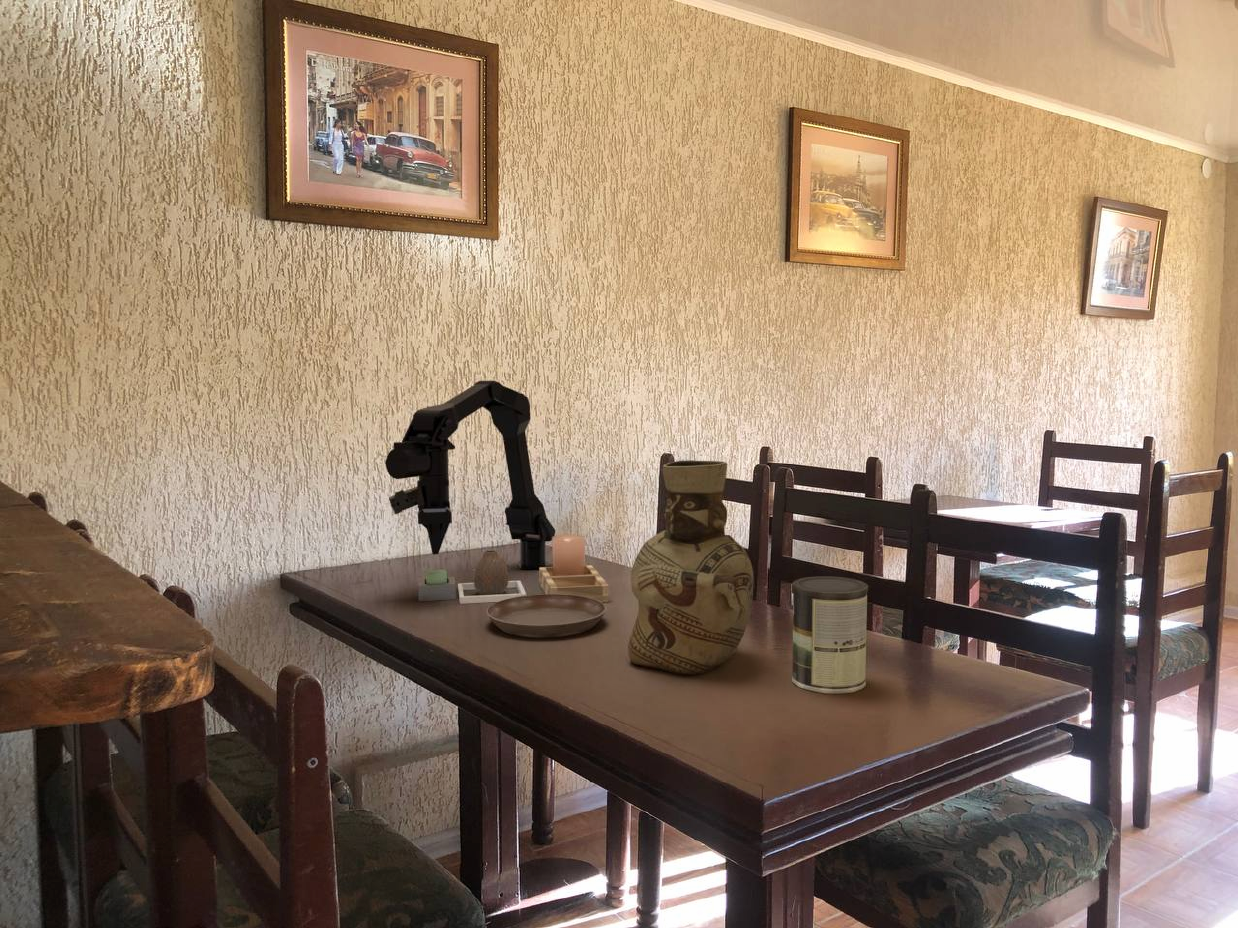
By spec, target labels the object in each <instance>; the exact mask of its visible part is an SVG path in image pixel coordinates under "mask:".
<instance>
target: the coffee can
mask: <svg viewBox="0 0 1238 928" xmlns="http://www.w3.org/2000/svg"><path fill="white" fill-rule="evenodd" d="M792 591H793V592H792V594H793V597H792V601H793V602H792V603H793V605H792V673H791V674H792V676H791V681H792V683H793V684H794V685H795V686H797V687H798V688H800V689H803V690H806V691H809V692H814V693H821V694H833V695H835V694H836V695H837V694H847V693H848V694H850V693H855V692H858V691H860V690H863V688H865V687H866V685H867V683H866V664H867V663H866V662H867V661H866V657H867V656H866V655H867V620H868V619H867V618H868V617H867V612H868V611H867V608H868V592H869V585H868V584H867V583H866V582H864V581H862V580H859V579H855V578H850V577H843V576H842V577H841V576H831V575H830V576H826V575H825V576H823V575H822V576H819V575H818V576H807V577H806V576H805V577H802V578H797V579H795V580H794V581H792Z"/></svg>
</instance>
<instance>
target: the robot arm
mask: <svg viewBox="0 0 1238 928" xmlns="http://www.w3.org/2000/svg"><path fill="white" fill-rule="evenodd" d="M529 399H530V398H528V396H526V395H525V394H524V393H522V392H519V391H517V390H514V389H512V388H510V387H507V386H505V385H503V384H501V383H500V382H499V381H496V380H493V379H491V380H485V379H484V380H482V379H481V380H478V381H476V382H475V383H473V385H472V386H470V387H469V388H467V389H466V390H464V391H462V392H461V393H459V394H457V395H456V396H454V397H452V398H450V399H448V400H447V401H446V402H443V403H441V404H438V405H437V404H436V405H432V406H426V407H424V408H420V409H418V410H416V411H415V412H414V413H413V415H412V419H411V422H410V423H409V426H408V428H407V430H406V431H405V434H404V436H403V438H402V440H401V441H396V442H394V443H393V449H391V450H390V451H389V452H388V454H387V456H386V459H385V468H386V472H387V473H388V474H389V476H390V477H391V478H393V479H395V480H403V479H411V478H416V477H418V480H416V486H414V487H412V488H408V489H407V490H404V489H400V490H399V491H395V492H394V495H391V496H389V498H388V501H389V504H390V507H391V508H392V511H393V513H394V515H398V514H401V513H403V511H407V510H408V509H411V508H413V507H416V506H417V509H418V511H417V524H418V525H421V526H423V527H424V528H425V529H426V532H427V535H428V539H429V544H430V548H431V553H432V554H433V555H439V553H440V550H441V548H442V544H443V542H444V540H445V538H446V534H447V532H448V529H449V526H450V524H452V523H453V520H452V519H453V516H452V510H451V503H450V502H451V501H450V479H449V477H450V476H449V475H450V473H449V471H450V470H449V451H450V450H452V451H453V450H456V445H454V443H453V442H451V441H450V440H449V438H450V437H451V436H452V435H453V434H454V433H456V431H458V428H459V426H460V425H459V424H460V423H461V421H463V420H464V419H466V418H467V417H469V416H471V415H472V414H474V413H475V412H476V411H478V410H480V409H482V408H483V409H485V410H486V411H488V412H489V414H490V417H491V420H492V424H493V425H494V427H495V428H496V429H497V431H498V432H499V433H500V434H501V436H502V441H503V442H502V443H503V448H504V455H505V461H506V467H507V472H508V474H507V475H508V479H509V486H510V492H511V500H510V503H509V505H508V506H507V507H505V509H504V513H505V517H506V518H505V519H506V526H508V530H509V533H510V538H511V539H512V540H519V545H520V546H519V549H520V554H519V555H520V561H517V566H518V568H519V570H537V569H538V570H539V568H540V567H550V565H549V563H548V562H547V553H546V552H547V545H546V543H548V542H552V537H553V536H556V535H555V534H556V529H555V528H554V526H553V524H552V523H551V522H550V520H549V519H548V518H547V513H546V510H545V507H544V506H545V505H544V504H543V503H542V502H541V500H540V498H538V497H537V495H536V493H535V488H534V483H533V482H534V480H533V474H532V468H531V462H530V456H529V449H528V443H527V442H528V441H527V435H526V430H527V427H528V426H529V424H530V421H531V404H530V400H529Z"/></svg>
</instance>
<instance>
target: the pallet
mask: <svg viewBox="0 0 1238 928" xmlns="http://www.w3.org/2000/svg"><path fill="white" fill-rule="evenodd" d="M538 570H539V571H538V573H539V574H538V575H539V577H538V579H539V580H538V581H539V585H540V586H541V588H542V591H543V592H544V594H565V595H576V596H583V597H588V598H592V599H595V600H598V601H600V602H602V603H609V602H610V594H609V593H610V588H609V587H610V586H609V584H608V582H606V580H605V579H604V578H603V577H602V576H601V575H600V573H599V572H598V571H597V570H596V569H595V568H594V567H593V565H592V564H591V565H586V564H585V575H570V576H553V566H549V567H540V568H539V569H538Z"/></svg>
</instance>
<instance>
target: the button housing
mask: <svg viewBox="0 0 1238 928" xmlns="http://www.w3.org/2000/svg"><path fill="white" fill-rule="evenodd" d="M417 581H418V583H417V585H418V587H417V588H418V592H417V593H418V595H417V596H418V602H427V601H429V602H430V601H433V602H434V601H447V600H449V601H451V600H453V601H454V600H456V597H457V596H456V593H457V592H456V579H455V576H447V583H440V584H426V577H419V578H418V580H417Z"/></svg>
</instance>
